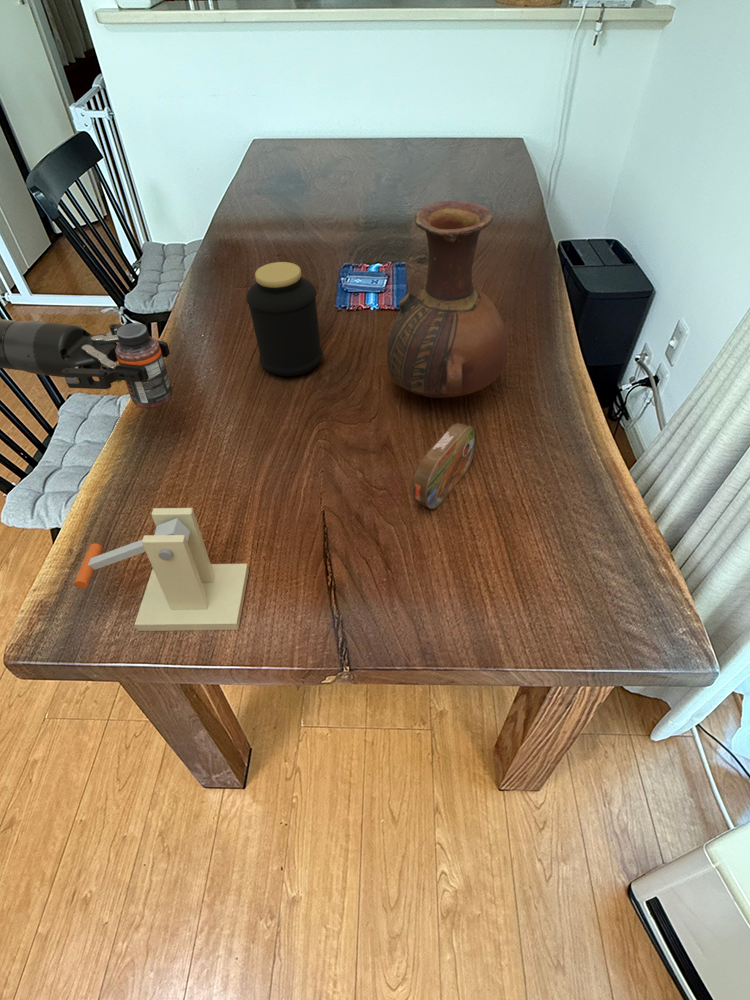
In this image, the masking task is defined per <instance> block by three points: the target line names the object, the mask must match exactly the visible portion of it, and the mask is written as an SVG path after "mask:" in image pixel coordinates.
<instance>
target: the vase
mask: <svg viewBox="0 0 750 1000" xmlns="http://www.w3.org/2000/svg"><path fill="white" fill-rule="evenodd" d="M493 219H494V215H493V213H492V212H491V210H490V209H489V208H487V207H486V206H484V205H481V204H479V203H476V202H472V201H468V200H467V201H466V200H441V201H437V202H433V203H429V204H427V205H425V206H423V207H420V208H419V210H418V211H417V212H416V213H415V215H414V223H415V225H416V227H418V229H421V230H422V231H424V232H425V234H426V239H427V246H428V264H427V276H426V284H425V288H422V289H419V290H418V291H416V292H414V293H412V292H408V293H407V294H406V295H404V296H403V298H402V299H400V301H399V303H398V308H399V311H398V313H397V314H396V317H395V319H394V322H393V324H392V328H391V330H390V333H389V336H388V341H387V349H386V358H387V368H388V372H389V375H390V378H391V379H392V381H393V382H394V383H395V385H397V386H398V387H400V388H402V389H404V390H405V391H408V392H410V393H413V394H416V395H419V396H421V397H422V396H423V397H427V398H434V399H435V398H436V399H442V398H443V399H444V398H445V399H446V398H456V397H457V398H458V397H462V396H466V395H470V394H473V393H476V392H478V391H481V390H483V389H484V388H487V387H488V386H489V385H491V384H492V383H494V382H495V381H496V380H497V379H498V377H499V376H500V375H501V374H502V373H503V371H504V368H505V366H506V362H507V356H508V337H507V331H506V327H505V324H504V321H503V319H502V317H501V315H500V313H499V311H498V309H497V308H496V305H494V303H493V302H492V300H491V299H490V298H489V297H488V295H486V294H485V293H483V292H482V291H481V290H479V289H478V288H475V287H474V284H473V265H474V261H475V255H476V250H477V245H478V242H479V241H478V240H479V236H480V233H481V231H483V230H484V229H485V228H487V227H488V226H489V225H490V224H491V223H492V222H493Z"/></svg>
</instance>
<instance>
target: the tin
mask: <svg viewBox="0 0 750 1000" xmlns="http://www.w3.org/2000/svg"><path fill="white" fill-rule="evenodd" d="M477 442H478V432H477V428H476V427H475V426H473V425H467V424H465V423H460V422H456V423H453V424H452V425H450V426H449V427H448V428H447V430H446V431H445V432H443V434H442V435H441V436H440V437H439V439H437V440H436V442H435V443H434V444H433V445H432V446H431V447H430V448H429V450H427V452H425V454H424V455H423V456H422V458H421V459H420V461H419V463H418V465H417V468H416V470H415V472H414V476H413V480H412V496H413V501H414V502H415V503H417V504H418V505H421V506H424V507H426V508H428V509H429V510H434V509H436V508H438V507H439V506H440V505H441V504H442V503H443V502H444V501H445V499H446V498H447V496H448V495H449V494H450V493H451V492H452V490H453V489H454V488H455V486H456V485H457V484H458V483H459V482H460V480H461V479H462V478H463V477H464V476H465V474H466V473H467V471H468V469H469V468H470V465H471V463H472V461H473V458H474V456H475V452H476V448H477Z"/></svg>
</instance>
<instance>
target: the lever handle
mask: <svg viewBox="0 0 750 1000" xmlns="http://www.w3.org/2000/svg"><path fill="white" fill-rule="evenodd" d="M190 532H191V531H190V530H189V529H188V528H187V527H186V526H185V525H184V524H183V523H182V522H181V521H180V520H179V519H178V518H176V519H173V520H171V521H168V522H165V523H163V524H160V525H158V526H157V528H155V531H154V534H153V535H185V537H186V540H187V542H188V539H189V535H190ZM103 550H104V547H103V546H102V545H101V544H99V543H96V542H95V543H94V542H93V543H91V544H90V545H89V547H88V549H87V552H86V555H85V557H84V559H83V562H82V563H81V566H80V568H79V571H78V573H77V575H76V578H75V580H74V583H73V585H74V586H75V587H76V588H77V589H87V588H88V586H89V585H90V582H91V579H92V577H93V574H94V572H95V571H96V570H99V569H101V568H104V567H107V566H109V565H113V564H115V563H118V562H121V561H123V560H126V559H129V558H132V557H135V556H137V555H141V554H143V553H146V551H145V549H144V547H143V544H142V539H140V540H139V539H138V540H137V541H133V542H131V543H129V544H126V545H123V546H120V547H118V548H115V549H113V550H110V551H107V552H104V553H102V552H103Z"/></svg>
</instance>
